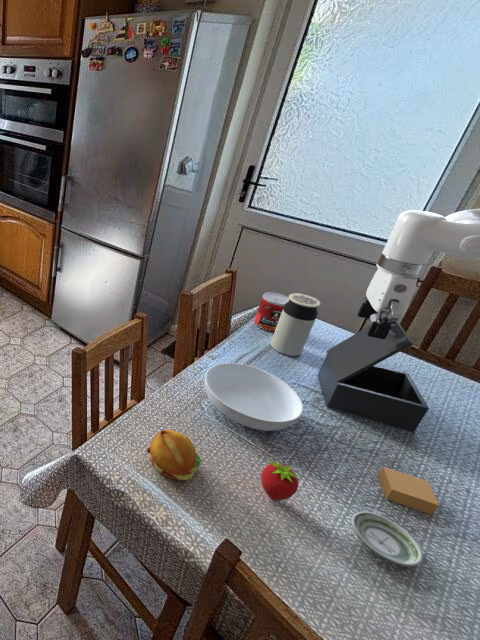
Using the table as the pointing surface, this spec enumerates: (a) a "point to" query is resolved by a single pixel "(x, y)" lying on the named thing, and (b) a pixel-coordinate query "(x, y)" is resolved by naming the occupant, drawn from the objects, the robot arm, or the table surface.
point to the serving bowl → (252, 396)
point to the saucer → (386, 539)
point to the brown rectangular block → (408, 490)
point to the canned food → (270, 310)
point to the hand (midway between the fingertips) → (370, 326)
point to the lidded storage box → (375, 396)
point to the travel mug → (295, 324)
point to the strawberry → (279, 481)
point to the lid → (366, 350)
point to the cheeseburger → (174, 455)
